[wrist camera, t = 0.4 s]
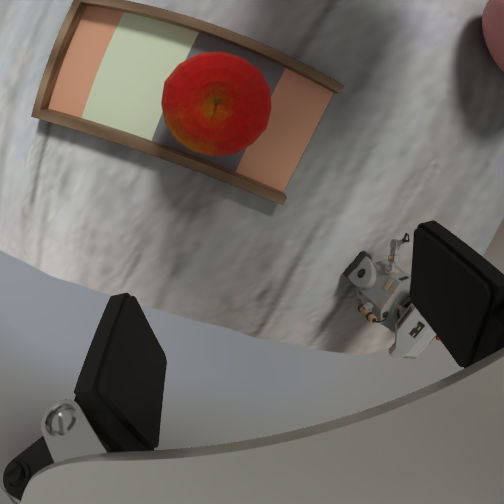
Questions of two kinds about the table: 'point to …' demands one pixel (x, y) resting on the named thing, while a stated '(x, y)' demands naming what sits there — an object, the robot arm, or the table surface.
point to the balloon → (494, 30)
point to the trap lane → (152, 83)
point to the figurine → (390, 301)
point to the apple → (216, 103)
